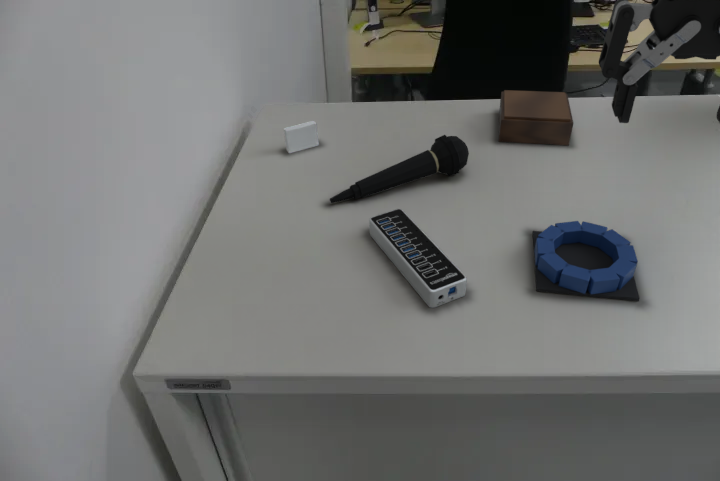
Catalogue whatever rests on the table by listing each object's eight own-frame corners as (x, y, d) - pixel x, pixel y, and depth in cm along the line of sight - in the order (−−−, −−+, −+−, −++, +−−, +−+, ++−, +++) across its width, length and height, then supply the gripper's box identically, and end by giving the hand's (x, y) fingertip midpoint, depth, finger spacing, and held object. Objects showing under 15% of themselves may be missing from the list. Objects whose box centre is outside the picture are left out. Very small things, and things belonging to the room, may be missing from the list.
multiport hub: (400, 222, 69) (400, 207, 67) (467, 294, 58) (468, 278, 57) (368, 233, 68) (367, 217, 66) (430, 309, 57) (431, 292, 56)
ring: (623, 236, 64) (627, 224, 63) (640, 299, 56) (645, 286, 55) (532, 229, 66) (535, 217, 65) (537, 289, 58) (539, 276, 57)
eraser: (319, 145, 85) (316, 123, 83) (289, 153, 84) (285, 131, 82) (316, 142, 86) (313, 120, 84) (286, 150, 85) (282, 128, 82)
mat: (622, 240, 64) (623, 237, 64) (638, 301, 57) (639, 298, 56) (532, 233, 66) (532, 230, 66) (536, 291, 58) (536, 288, 58)
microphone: (340, 229, 73) (473, 176, 77) (337, 203, 68) (479, 148, 72) (324, 199, 76) (453, 149, 80) (320, 172, 71) (457, 120, 75)
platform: (563, 114, 89) (567, 91, 87) (568, 145, 82) (574, 120, 79) (499, 112, 91) (501, 88, 89) (498, 141, 84) (501, 117, 81)
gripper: (822, -94, 43) (744, 105, 53) (622, -87, 45) (584, 101, 55) (872, -74, 37) (773, 144, 47) (640, -68, 40) (594, 137, 50)
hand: (671, 120), depth 51 cm, fingers open, 8 cm apart
